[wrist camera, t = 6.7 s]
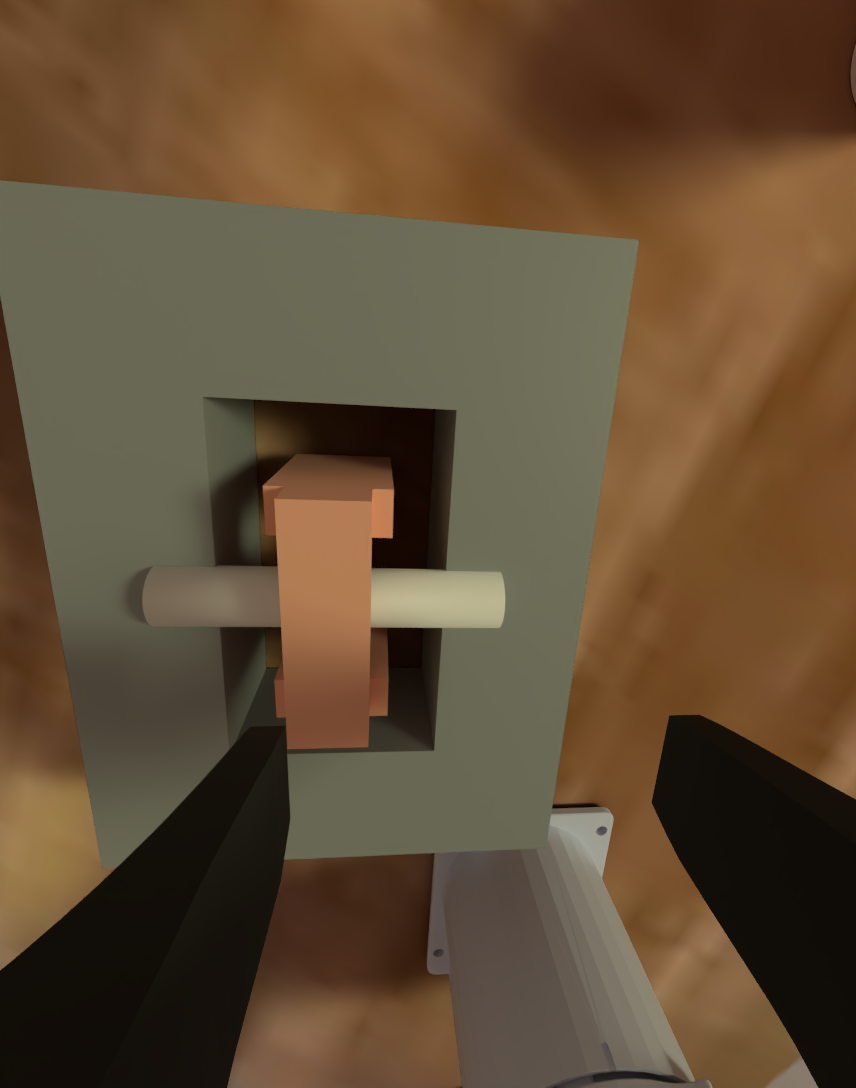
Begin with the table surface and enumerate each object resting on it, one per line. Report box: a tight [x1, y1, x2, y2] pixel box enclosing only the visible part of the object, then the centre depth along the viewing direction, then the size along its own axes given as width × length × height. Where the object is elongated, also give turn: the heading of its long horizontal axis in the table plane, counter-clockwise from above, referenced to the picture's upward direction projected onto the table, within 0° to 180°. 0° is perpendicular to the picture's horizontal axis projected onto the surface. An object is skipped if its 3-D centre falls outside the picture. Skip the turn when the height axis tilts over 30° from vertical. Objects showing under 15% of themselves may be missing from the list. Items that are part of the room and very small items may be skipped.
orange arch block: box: [263, 454, 394, 749], centre depth 14 cm, size 6×3×6 cm, turn 177°
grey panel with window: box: [0, 180, 639, 868], centre depth 15 cm, size 18×14×6 cm
